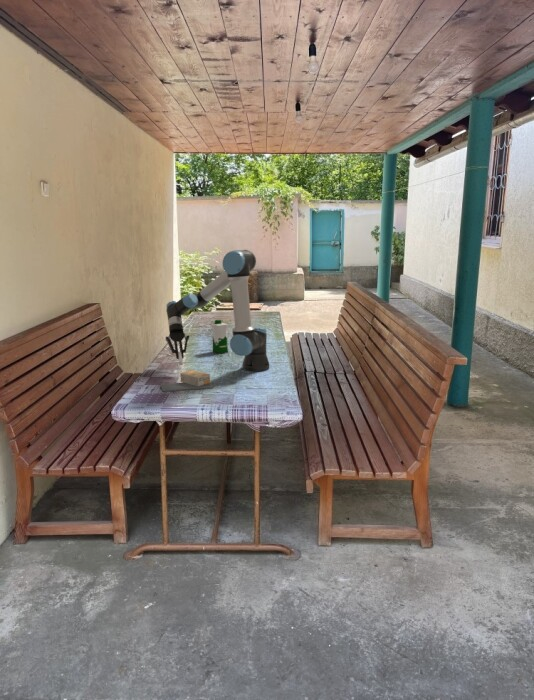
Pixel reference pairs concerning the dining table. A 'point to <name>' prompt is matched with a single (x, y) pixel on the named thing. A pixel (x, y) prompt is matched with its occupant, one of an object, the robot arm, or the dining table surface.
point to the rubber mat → (183, 387)
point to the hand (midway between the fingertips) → (180, 363)
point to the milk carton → (219, 337)
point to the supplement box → (195, 378)
